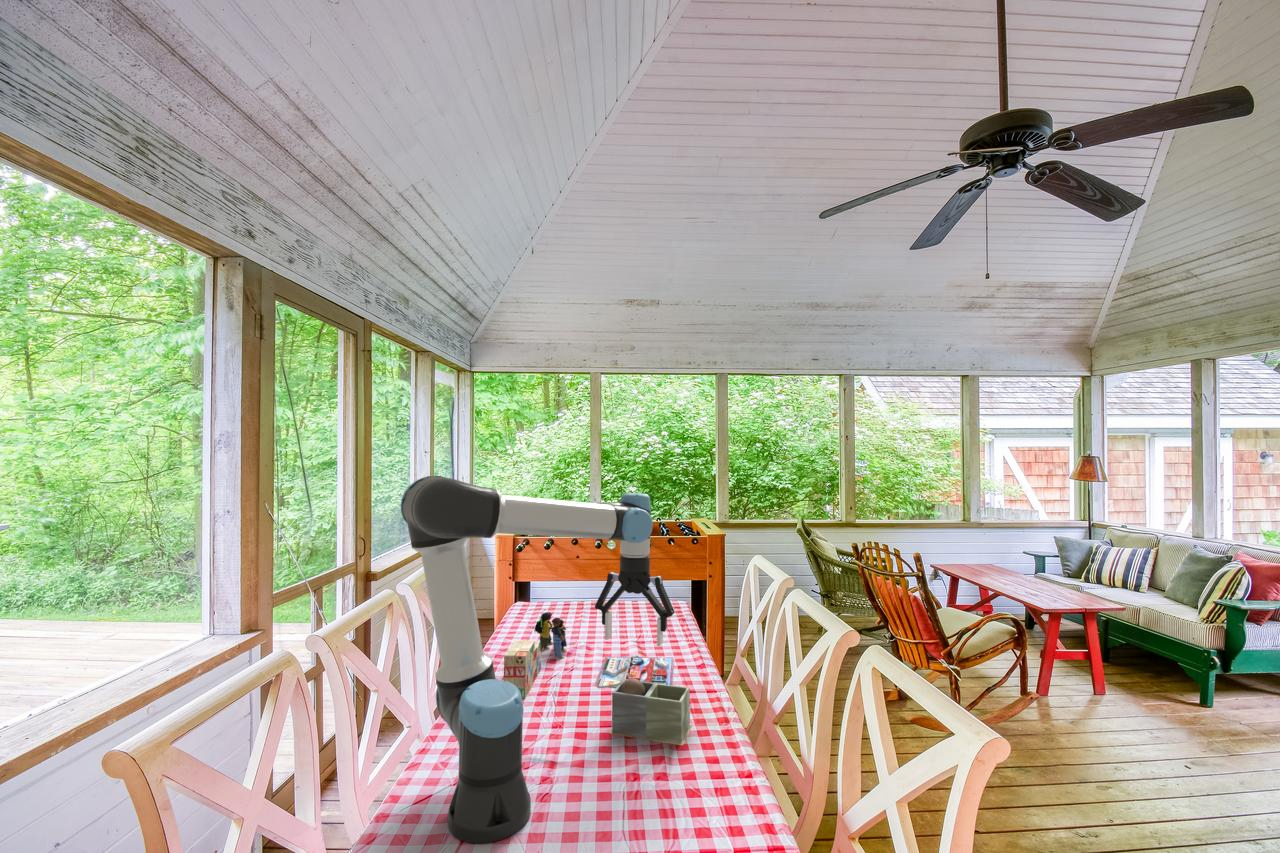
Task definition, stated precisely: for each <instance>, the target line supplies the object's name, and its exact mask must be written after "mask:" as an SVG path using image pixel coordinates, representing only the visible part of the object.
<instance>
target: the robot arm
mask: <svg viewBox="0 0 1280 853" xmlns="http://www.w3.org/2000/svg"><path fill="white" fill-rule="evenodd" d="M651 509H652V508H651V497H650V495H648V494H647V493H643V492H642V493H641V492H640V493H639V492H629V493H628V492H627V493H622V494H621V496H620V500H619V501H616V502H592V501H590V502H584V501H573V500H561V499H553V498H541V497H532V496H522V495H512V494H502V493H501V492H500V490H499V489H498V488H493V487H484V486H479V485H475V484H471V483H468V482H465V481H461V480H458V479H455V478H450V477H445V476H442V475H437V474H436V475H428V476H426V477H425V476H424V477H421V478H419V479H417V480H414V481H413V482H412V483H411V484H409V486H407V488H406V489H405V491H404V492H403V494H402V496H401V501H400V514H401V516H402V518H403V520H404V522H405V523H406V525H407V530H408V535H409V540H410V545H411V549H413V550H414V551H416V552H417V553H419V554H420V555H421V559H422V566H423V572H424V578H425V582H426V588H427V593H428V599H429V604H430V609H431V616H432V621H433V626H434V627H433V628H434V632H435V639H436V643H437V648H438V653H439V660H440V666H439V667H438V669H437V670H436V672H435V675H434V676H435V680H436V682H435V683H436V686H437V687H436V692H435V701H436V702H435V703H436V707H437V708H436V709H437V712H438V714H439V715H440V717H441V718H442V720H443V722H445V723H446V725H447V726H448V727H449V729H450V731H451V732H452V734H453V735H454V737H455V738H456V740H457V742H458V779H457V783H456V787H455V790H454V792H453V795H452V798H451V801H450V804H449V808H448V812H447V813H448V817H447V826H448V830H449V833H451V835H452V836H454V837H455V838H456V839H457V840H460V841H463V842H465V843H472V844H487V843H493V842H496V841H500V840H504V839H506V838H508V837H510V836H512V835H514V834H516V833H517V832H519V831H520V830H521V829H522V828H524V826H525V825H526V824H527V823H528V821H529V819H530V816H531V813H532V811H531V810H532V809H531V807H532V806H531V805H532V800H531V795H530V792H529V790H528V787H527V786H528V785H527V783H526V779H525V775H524V773H523V769H522V768H523V765H522V764H523V723H524V722H523V720H524V718H523V717H524V704H523V699H522V695H521V692H520V691H519V689H518V688H517V687H516V686H515V685H514V684H512V683H510V682H508V681H505V682H504V680H502V679H497V678H496V673H495V668H494V663H493V661H494V660H493V658H492V656H491V655H489V654H488V653H486V652H484V650H483V649H484V648H483V643H482V637H481V632H480V627H479V620H478V616H477V609H476V605H475V604H476V603H475V598H474V593H473V587H472V582H471V581H472V580H471V575H470V570H469V564H468V560H467V552H466V548H465V547H466V546H465V542H467V540H468V539H470V538H471V539H472V538H473V539H474V538H476V539H477V538H478V539H479V538H480V539H481V538H482V539H483V538H484V539H492V538H493V537H495V535H496V534H505V535H506V534H508V535H522V536H523V535H524V536H541V537H542V536H543V537H560V538H561V537H562V538H578V539H593V540H595V539H596V540H597V539H598V540H601V539H602V540H609V541H611V540H613V541H620V542H619V543H620V544H619V554H621V555H620V557H619V573H615V571H611V572H609V573H608V574H607V576H606V583H605V584H604V587H603V589H602V591H601V593H600V594H599V597H598V599H597V601H596V603H595V604H594V608H595V609H596V610H599V611H601V624H602V626H603V625H604V640H609V639H610V638H612V633H613V632H612V630H613V629H612V627H613V626H612V624H613V623H612V622H613V615H612V614H613V611H612V610H610V609H611V608H612V606H614V604H615V603H616V602H617V601H618V599H619V598H620V597H621V596H622V594H624V592H626V593H627V594H638V595H640V594H642V595H643V597H645V598H646V600H647V601H648V603H649V604H650V606H651V607H652V608H653V609H654V610H655V612H656V614H657V615H658V617H657V620H656V622H657V623H656V646H658V647H661V646H662V644H663V643H664V632H665V631H667V629H668V618H669V617H670V618H671V617H672V616H673V615H674V614H675V613H676V612H675V609H674V606H673V605H672V602H671V600H670V598H669V596H668V593H667V590H666V589H665V586H664V584H663V576H662V575H659V574H658V576H652V575H651V574H650V573H651V566H650V565H651V562H650V561H651V557H650V556H649V554H650V552H651V534H652V532H653V528H654V527H653V525H654V524H653V523H654V522H653V518H652V516H651V515H652V514H651V513H652V510H651ZM617 580H618V582H619V584H620V587H619V588H618V589H617V590H616V591H615V592H614V594H613V595H612V596H610V598H609V599H608V600H607V597H608V595H610V594H609V593H610V592H611V590H612V588H613V586H614V583H615V582H616V581H617ZM650 583H652V585H653V586H655V590H656V592H657V594H658V597H659V598H660V601H659V599H658V598H657V597H656V595H655V594H654V593H653V591H652V589H651V587H650V586H649V585H650ZM606 600H607V602H606ZM604 603H605V604H604Z"/></svg>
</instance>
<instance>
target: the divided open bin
mask: <svg viewBox="0 0 1280 853" xmlns="http://www.w3.org/2000/svg"><path fill="white" fill-rule="evenodd" d="M626 680H628V679H624V680H623V681H622V682H621V683H620V684H619V685H618V686H617V688H616V689H615V688H614V690H613V691H612V692H611V694H612V696H611V730H610V731H609V733H608V734H611V735H617V736H621V737H622V736H623V737H629V738H635V739H640V740H646V741H652V742H657V743H665V744H669V745H671V744H672V745H676V746H682V747H683V746H684V744H685V742H686V740H687V738H688V736H689V734H690V732H691V730H692V728H693V725H690V724H691V723H690V720H691V718H690V716H691V715H690V714H691V711H690V706H691V705H690V702H691V701H690V696H691V695H690V687H688V686H681V685H673V684H672V685H666V684H659V683H651V682H643V681H640V682H641V683H642V684H643V686H644V689H645V695H644V696H642V695H634V694H627V693H621V687H622V685H623V683H624V682H625V681H626Z"/></svg>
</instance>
